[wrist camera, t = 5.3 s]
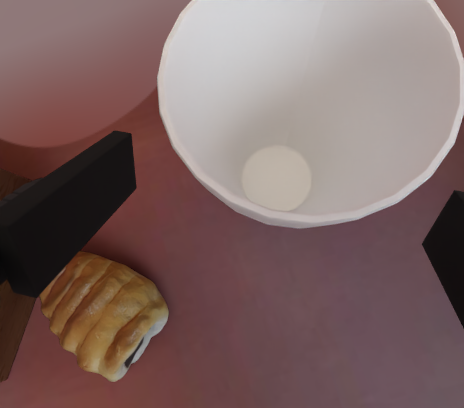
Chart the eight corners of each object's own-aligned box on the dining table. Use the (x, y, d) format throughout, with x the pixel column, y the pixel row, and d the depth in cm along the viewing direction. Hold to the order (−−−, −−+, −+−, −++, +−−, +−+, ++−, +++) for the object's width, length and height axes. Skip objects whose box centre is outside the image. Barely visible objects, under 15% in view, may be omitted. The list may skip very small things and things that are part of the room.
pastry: (32, 302, 23) (-11, 308, 19) (88, 229, 24) (58, 221, 20) (126, 382, 21) (100, 406, 18) (183, 300, 22) (169, 307, 19)
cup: (192, 228, 23) (114, 178, 10) (229, 105, 25) (204, -73, 12) (329, 265, 22) (444, 265, 9) (357, 134, 24) (488, -29, 11)
